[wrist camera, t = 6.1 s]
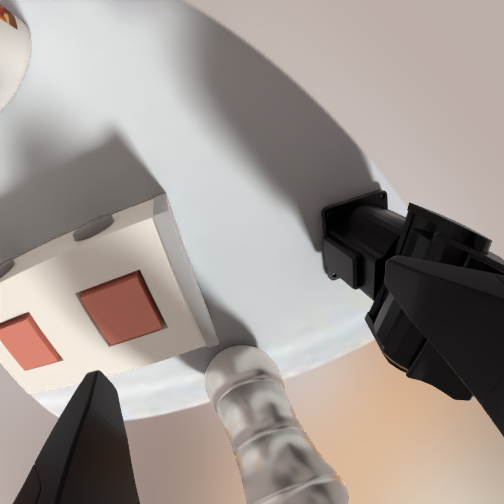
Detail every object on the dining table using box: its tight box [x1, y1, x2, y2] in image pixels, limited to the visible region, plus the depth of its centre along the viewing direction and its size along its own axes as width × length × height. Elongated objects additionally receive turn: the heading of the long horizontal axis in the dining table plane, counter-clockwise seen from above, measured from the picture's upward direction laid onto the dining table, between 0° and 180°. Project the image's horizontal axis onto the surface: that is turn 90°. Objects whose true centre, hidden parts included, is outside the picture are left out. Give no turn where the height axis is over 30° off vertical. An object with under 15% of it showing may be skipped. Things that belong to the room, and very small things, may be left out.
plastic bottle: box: [205, 345, 349, 504], centre depth 16 cm, size 6×7×20 cm
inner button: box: [81, 270, 162, 345], centre depth 15 cm, size 4×4×2 cm
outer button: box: [0, 312, 59, 370], centre depth 14 cm, size 4×4×2 cm
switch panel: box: [0, 193, 220, 394], centre depth 16 cm, size 17×9×4 cm, turn 101°
